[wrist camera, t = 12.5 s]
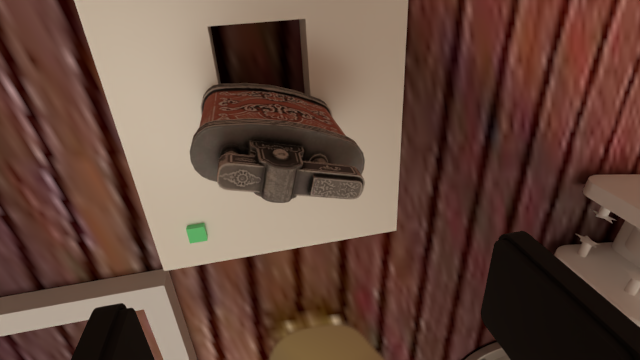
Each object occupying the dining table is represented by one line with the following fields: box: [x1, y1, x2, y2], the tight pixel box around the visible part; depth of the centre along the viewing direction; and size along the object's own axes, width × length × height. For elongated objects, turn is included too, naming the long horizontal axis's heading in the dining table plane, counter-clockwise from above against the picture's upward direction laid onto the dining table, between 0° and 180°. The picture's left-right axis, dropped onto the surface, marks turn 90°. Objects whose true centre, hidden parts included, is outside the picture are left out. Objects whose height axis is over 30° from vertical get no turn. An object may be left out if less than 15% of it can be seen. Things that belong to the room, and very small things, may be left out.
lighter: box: [190, 83, 365, 203], centre depth 19 cm, size 8×3×10 cm, turn 78°
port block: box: [74, 0, 408, 271], centre depth 24 cm, size 18×22×3 cm
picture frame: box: [0, 269, 197, 360], centre depth 32 cm, size 17×14×2 cm
